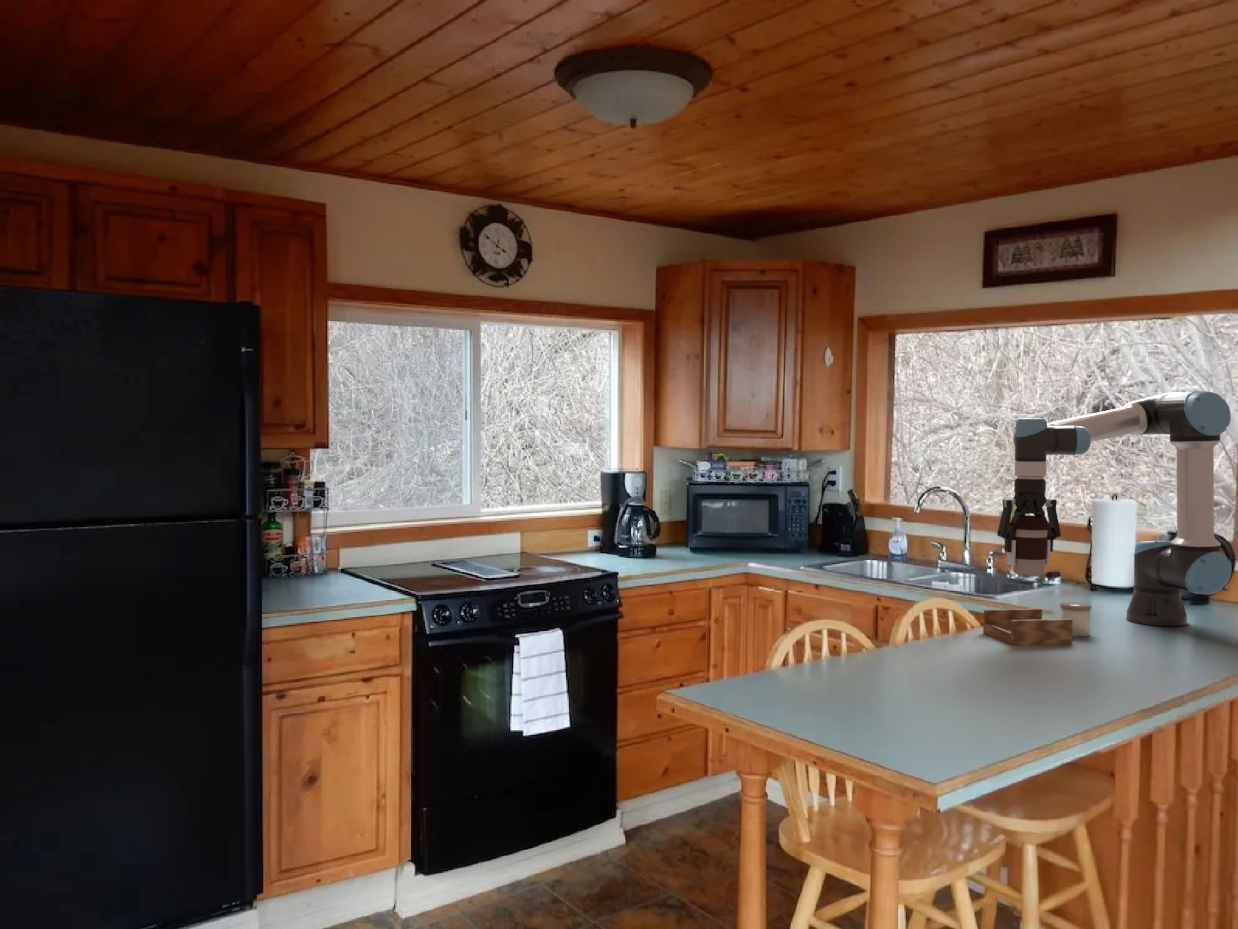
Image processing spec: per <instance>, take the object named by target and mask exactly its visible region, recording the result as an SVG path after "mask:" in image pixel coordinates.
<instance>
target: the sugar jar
mask: <svg viewBox="0 0 1238 929" xmlns="http://www.w3.org/2000/svg"><path fill="white" fill-rule="evenodd" d="M1059 608H1060V619H1072V620H1073V628H1072V637H1078V636H1083V637H1089V636H1090V633H1091V632H1090V627H1091V626H1090V625H1091V624H1090V623H1091V622H1090V620H1091V619H1090V618H1091V610H1092V605H1091V604H1088V603H1083V602H1074V601H1071V602H1070V601H1065V602H1060V603H1059Z"/></svg>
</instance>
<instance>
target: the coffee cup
mask: <svg viewBox="0 0 1238 929" xmlns="http://www.w3.org/2000/svg"><path fill="white" fill-rule="evenodd" d="M1009 525H1010V526H1014V529H1016V533H1015V535H1014V537H1013V539H1012V540H1016V552H1015V566H1012V570H1013V571H1012V572H1013V573H1014V574H1016V575H1021V576H1033V577H1035V576H1036V577H1037V576H1043V575H1044V573H1045V559H1046V552H1047V541H1048V537H1047V531H1048V530H1049V529H1050V523H1049V522H1048V523H1046V522H1045V519H1044V517H1038V516H1035V515H1029V514H1026V515H1025V516H1024V517H1020V519H1019V522H1018V523H1012V522H1011V520H1010V522H1009Z"/></svg>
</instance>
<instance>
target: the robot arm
mask: <svg viewBox="0 0 1238 929" xmlns="http://www.w3.org/2000/svg"><path fill="white" fill-rule="evenodd" d="M1231 418H1232V417H1231V409H1230V407H1229V404H1228V403H1227V401H1226V400H1225V399H1223V397H1222V396H1221V395H1220V394H1219V393H1216V392H1213V391H1203V390H1195V391H1180V392H1178V391H1177V392H1165V393H1160V394H1157V395H1152V396H1149V397H1145V398H1142V399H1138V400H1134V401H1130V402H1128V403H1126V404H1125V405H1124V406H1123V407H1119V408H1114V409H1109V410H1105V411H1100V412H1094V413H1091V414H1090V413H1089V414H1085V415H1081V416H1076V417H1075V416H1074V417H1071V418H1067V419H1063V420H1062V419H1061V420H1057V421H1056V420H1055V421H1052V422H1048V421H1047V419H1046V418H1035V417H1034V418H1033V417H1032V418H1028V417H1027V418H1025V417H1024V418H1018V419H1017V420H1016V422H1015V429H1014V430H1015V431H1014V435H1013V437H1012V438H1013V439H1012V440H1013V446H1014V476H1015V477H1016V478H1015V479H1014V483H1013V484H1014V485H1013V486H1014V487H1013V488H1014V489H1013V491H1014V497H1013V498H1010V499H1006V498H1004V499H1002V508H1003V509H1002V512H1001V516H1000V520H999V525H998V530H997V534H996V535H997V536H998V538H1002V539H1004V552H1005V553H1006V564H1007V565H1009V566H1012V567H1013V566H1015V552H1016V540H1012V539H1013V537H1014V535H1015V533H1016V529H1014V526H1010V525H1009V522H1010V521H1011V522H1012V523H1018V522H1019V519H1020V517H1024V516H1025V515H1031V514H1033V516H1038V517H1044V519H1045V522H1046V523H1050V529H1049V530H1048V531H1047V537H1048V541H1047V552H1046V559H1045V564H1044V566H1045V565H1046V566H1050V565H1051V552H1053V550H1054V540H1056V539H1057V538H1059V537H1061V534H1062V532H1061V527H1060V523H1059V519H1058V518H1059V517H1058V513H1057V503H1058V501H1057V500H1056V499H1053V498H1048V499H1047V498H1046V492H1047V490H1046V486H1047V480H1046V479H1045V477H1047V457H1048V455H1049V456H1050V455H1054V456H1056V455H1059V456H1079V455H1083V454H1086V452H1088V451H1089V449H1090V447H1091V444H1092V442H1097V441H1101V440H1106V439H1112V438H1116V437H1120V436H1125V435H1132V436H1133V437H1134V436H1135V437H1137V436H1142V435H1169V443H1170V444H1172V446H1174V447H1175V450H1176V537H1174V538H1173V540H1147V541H1143V540H1142V541H1138V542H1137V543H1136V544H1135V548H1134V549H1135V550H1134V553H1133V557H1134V559H1133V561H1134V562H1133V564H1134V566H1133V569H1134V570H1133V577H1134V578H1133V584H1134V585H1133V593H1132V596H1131V599H1130V602H1129V604H1128V608H1127V609H1126V620H1128V621H1130V622H1133V623H1138V624H1143V625H1150V626H1151V625H1152V626H1161V627H1181V626H1182V627H1183V626H1186V625H1187V624H1188V614H1187V611H1186V608H1185V605H1184V603H1183V599H1182V595H1181V594H1182V592H1181V591H1184V592H1185V591H1186V592H1189V593H1192V594H1195V595H1196V594H1197V595H1198V594H1199V595H1200V594H1201V595H1213V594H1216V593H1219V592H1220V591H1221V590H1222V589H1223V588H1224V587H1225V586H1226V585H1227V584H1228V583H1229V581H1230V579H1231V575H1232V572H1233V571H1232V562H1231V561H1230V559H1229V558H1228V556H1226V555H1225V553H1223V552H1222V551H1221V550H1222V549H1221V548H1222V547H1221V546H1222V545H1221V542H1220V541H1219V540H1217V539H1216V537H1215V482H1214V481H1215V478H1214V476H1215V471H1214V469H1215V468H1214V466H1215V464H1214V459H1215V457H1214V456H1215V455H1214V454H1215V453H1214V452H1215V451H1214V448H1215V447H1216V446H1217V445H1218V444H1219V443H1220V442H1221V434H1223V433H1224V432H1225V431H1226V430H1227V428H1228V427H1229V426H1230V423H1231ZM1044 506H1045V507H1046V512H1045V511H1044V508H1043V507H1044ZM1013 507H1016V508H1015V510H1014V512H1013ZM1012 513H1013V516H1012ZM1046 513H1047V514H1046ZM1046 515H1047V518H1046ZM1011 517H1012V519H1011Z"/></svg>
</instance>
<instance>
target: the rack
mask: <svg viewBox="0 0 1238 929" xmlns="http://www.w3.org/2000/svg"><path fill="white" fill-rule="evenodd" d="M982 624H983V625H982V626H983V627H982V628H983V629H982V631H983V634H986V635H988V636H990V637H992V638H995V639H997V638H998V639H997V640H999V639H1000V640H999V641H1001V640H1002V642H1004V643H1006V644H1009V645H1011V644H1012V645H1011V646H1035V645H1036V646H1037V645H1039V646H1040V645H1042V646H1043V645H1072V644H1073V636H1072V628H1073V620H1072V619H1061V618H1049V619H1047V618H1045V619H1043V609H1042V608H1018V609H1017V608H1013V609H1012V608H1011V609H1009V608H1008V609H1006V608H1005V609H983V623H982Z"/></svg>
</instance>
